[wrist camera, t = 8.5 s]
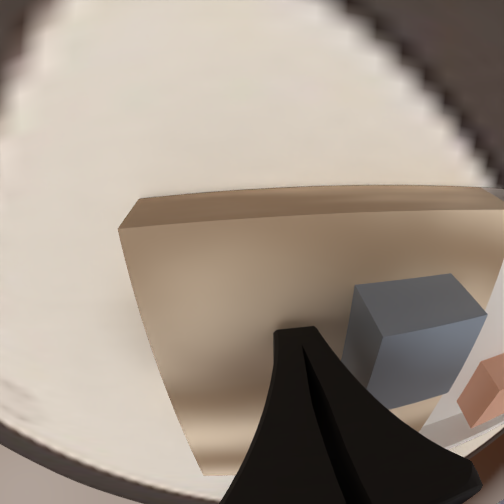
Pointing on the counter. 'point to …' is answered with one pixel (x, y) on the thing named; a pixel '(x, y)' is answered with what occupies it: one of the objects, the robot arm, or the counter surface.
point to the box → (470, 374)
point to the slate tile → (410, 337)
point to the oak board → (285, 284)
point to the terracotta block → (484, 392)
